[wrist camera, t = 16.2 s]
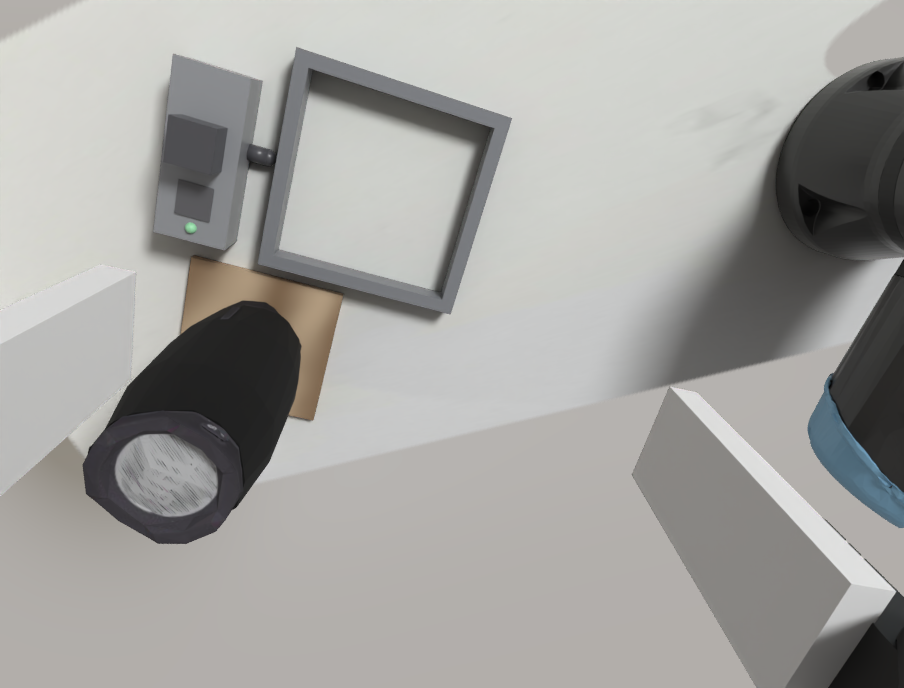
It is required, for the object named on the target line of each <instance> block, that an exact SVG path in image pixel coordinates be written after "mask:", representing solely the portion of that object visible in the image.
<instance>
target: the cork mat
mask: <svg viewBox="0 0 904 688" xmlns="http://www.w3.org/2000/svg"><path fill="white" fill-rule="evenodd" d="M343 295H344V294H342V293H338V292H334V291H330V290H326V289H323V288H319V287H315V286H311V285H307V284H303V283H299V282H295V281H292V280H288V279H284V278H280V277H276V276H272V275H268V274H265V273H261V272H257V271H253V270H249V269H245V268H241V267H237V266H234V265H230V264H226V263H222V262H218V261H214V260H210V259H206V258H203V257H199V256H195V255H193V256H192V257H191V262H190V269H189V277H188V284H187V291H186V299H185V306H184V313H183V321H182V328H181V334H182V333H183V332H184V331H185V330H187V329H188V328H189V327H190V326H192V325H194V324H196V323H197V322H199V321H201V320H203V319H205V318H207V317H208V316H210V315H212V314H214V313H216V312H218V311H219V310H221V309H223V308H226V307H228V306H230V305H233V304H235V303H238V302H240V301H243V300H245V301H258V302H266V303H268V304H269V305H271V306H272V307H274V308H275V309H276V310H277V312H278V313H279V314H280V315H281V316H282V317H284V318H285V319H286V320H287V321H288V322H289V323H290V325H291V327H292V328H293V330H294V331H295V333H296V335H297V336H298V338H299V340H300V343H301V346H302V347H301V362H300V371H299V380H298V386H297V391H296V396H295V400H294V403H293V405H292V408H291V410H290V412H289V415H290V416H295V417H300V418H304V419H309V420H313V419H314V416H315V412H316V407H317V403H318V399H319V395H320V391H321V386H322V382H323V378H324V374H325V370H326V366H327V361H328V357H329V353H330V349H331V345H332V341H333V336H334V332H335V328H336V324H337V320H338V315H339V311H340V307H341V303H342V299H343Z"/></svg>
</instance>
